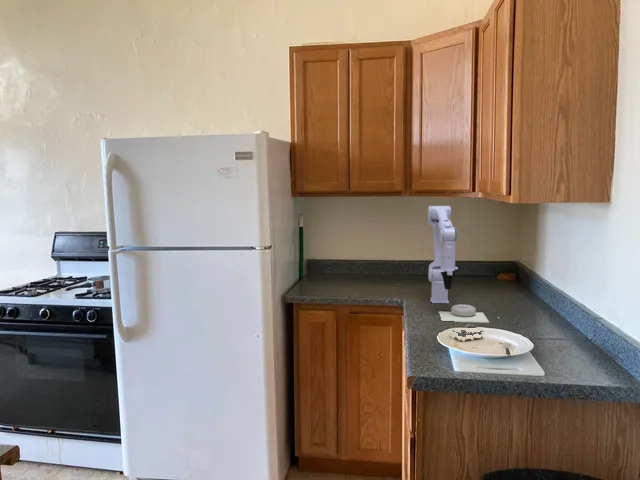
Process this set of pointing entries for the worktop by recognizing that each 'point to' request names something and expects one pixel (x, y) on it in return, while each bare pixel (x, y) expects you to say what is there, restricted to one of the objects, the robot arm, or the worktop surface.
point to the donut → (463, 310)
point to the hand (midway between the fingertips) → (447, 289)
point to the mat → (476, 318)
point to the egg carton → (464, 333)
